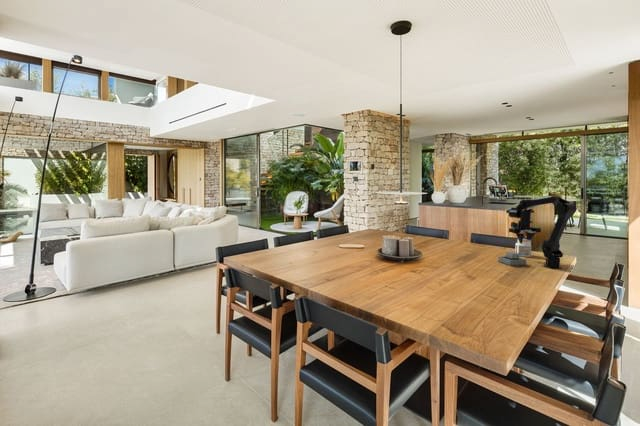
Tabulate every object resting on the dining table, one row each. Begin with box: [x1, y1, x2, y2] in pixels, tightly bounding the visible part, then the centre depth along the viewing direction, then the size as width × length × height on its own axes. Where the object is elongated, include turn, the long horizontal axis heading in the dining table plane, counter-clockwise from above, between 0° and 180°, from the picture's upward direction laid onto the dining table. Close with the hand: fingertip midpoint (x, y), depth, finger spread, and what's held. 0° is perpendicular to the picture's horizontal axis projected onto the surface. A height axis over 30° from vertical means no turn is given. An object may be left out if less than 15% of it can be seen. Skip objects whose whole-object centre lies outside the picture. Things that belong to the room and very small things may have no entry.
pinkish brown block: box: [516, 238, 532, 246], centre depth 210 cm, size 6×4×4 cm
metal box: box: [505, 251, 520, 260], centre depth 202 cm, size 5×5×6 cm
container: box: [514, 235, 532, 258], centre depth 223 cm, size 8×8×13 cm
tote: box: [498, 255, 527, 267], centre depth 202 cm, size 11×11×4 cm
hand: (524, 243), depth 210 cm, fingers closed on pinkish brown block, 4 cm apart
